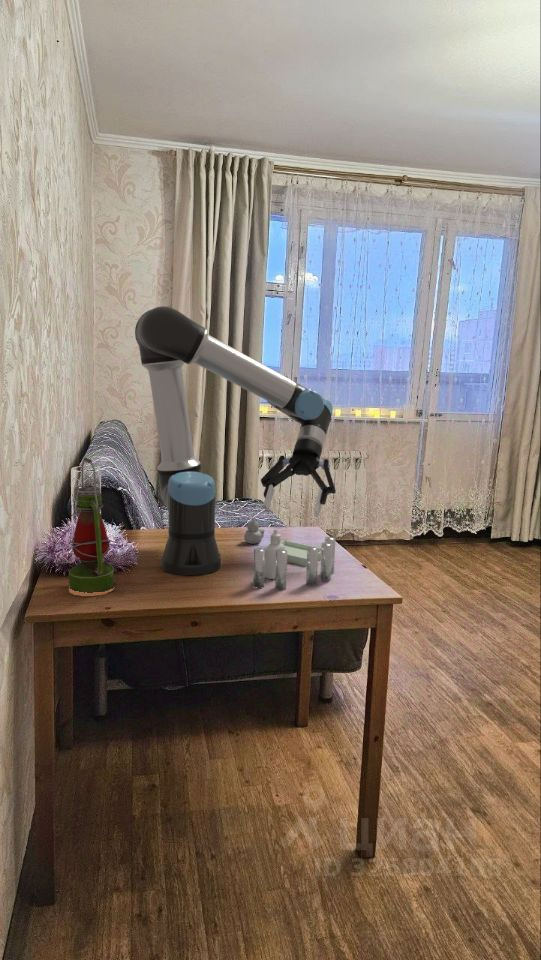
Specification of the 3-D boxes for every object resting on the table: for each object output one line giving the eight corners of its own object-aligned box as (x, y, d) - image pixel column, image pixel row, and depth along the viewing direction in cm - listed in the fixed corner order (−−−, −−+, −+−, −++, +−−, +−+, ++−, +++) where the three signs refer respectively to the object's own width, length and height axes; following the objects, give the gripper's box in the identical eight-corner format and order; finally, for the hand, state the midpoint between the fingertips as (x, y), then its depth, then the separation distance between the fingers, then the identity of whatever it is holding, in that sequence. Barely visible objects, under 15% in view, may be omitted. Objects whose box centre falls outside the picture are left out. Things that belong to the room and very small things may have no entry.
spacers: (250, 585, 149) (251, 548, 148) (329, 570, 161) (331, 536, 160) (267, 595, 143) (268, 557, 141) (348, 579, 155) (349, 543, 154)
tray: (262, 555, 172) (262, 548, 172) (284, 546, 181) (285, 539, 180) (306, 566, 164) (306, 559, 164) (327, 556, 173) (327, 549, 173)
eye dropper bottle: (260, 574, 157) (261, 528, 154) (281, 572, 159) (282, 526, 157) (267, 580, 153) (268, 532, 151) (288, 578, 155) (290, 530, 153)
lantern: (125, 593, 142) (123, 461, 137) (78, 602, 136) (73, 465, 131) (104, 575, 154) (100, 453, 148) (59, 583, 148) (54, 456, 142)
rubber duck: (239, 542, 184) (240, 515, 183) (258, 539, 188) (259, 512, 186) (249, 546, 180) (250, 519, 178) (269, 543, 183) (269, 516, 182)
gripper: (355, 457, 173) (339, 523, 162) (269, 450, 181) (249, 513, 170) (352, 440, 167) (335, 508, 156) (263, 434, 175) (241, 498, 164)
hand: (290, 511), depth 163 cm, fingers open, 13 cm apart
